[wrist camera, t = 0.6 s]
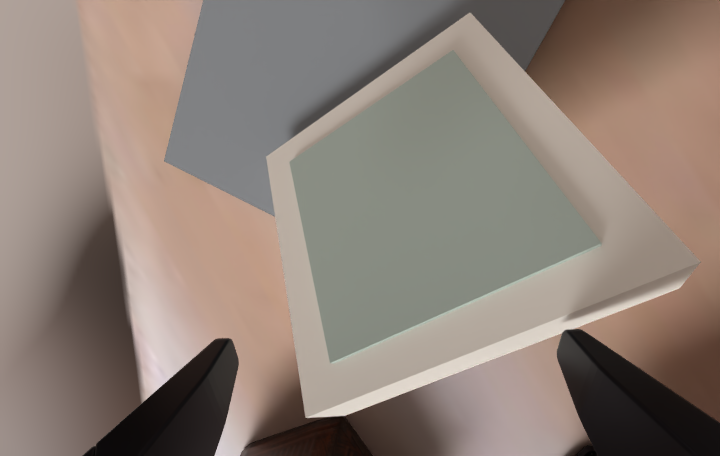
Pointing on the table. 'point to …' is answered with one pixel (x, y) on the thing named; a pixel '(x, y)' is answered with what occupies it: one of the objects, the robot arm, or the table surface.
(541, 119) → the picture frame
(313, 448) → the coffee grinder
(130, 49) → the table surface
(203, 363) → the robot arm
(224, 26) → the mat
